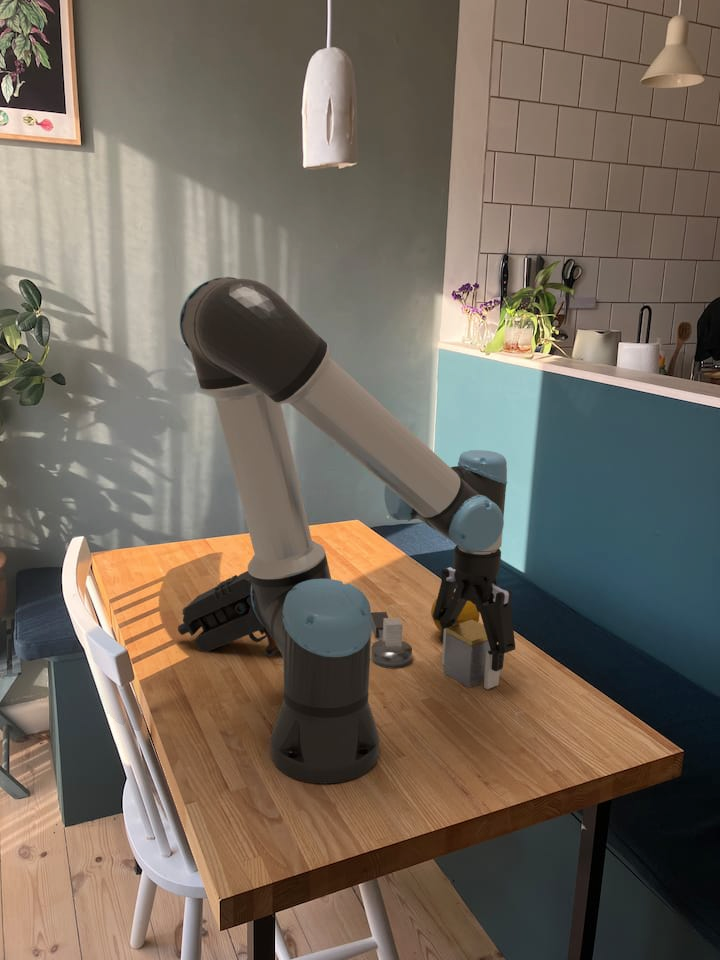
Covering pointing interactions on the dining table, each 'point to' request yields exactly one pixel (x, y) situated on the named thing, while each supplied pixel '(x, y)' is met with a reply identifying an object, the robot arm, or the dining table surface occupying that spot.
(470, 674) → the lidded square canister
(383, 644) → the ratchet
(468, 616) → the apple
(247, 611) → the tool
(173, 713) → the dining table surface
